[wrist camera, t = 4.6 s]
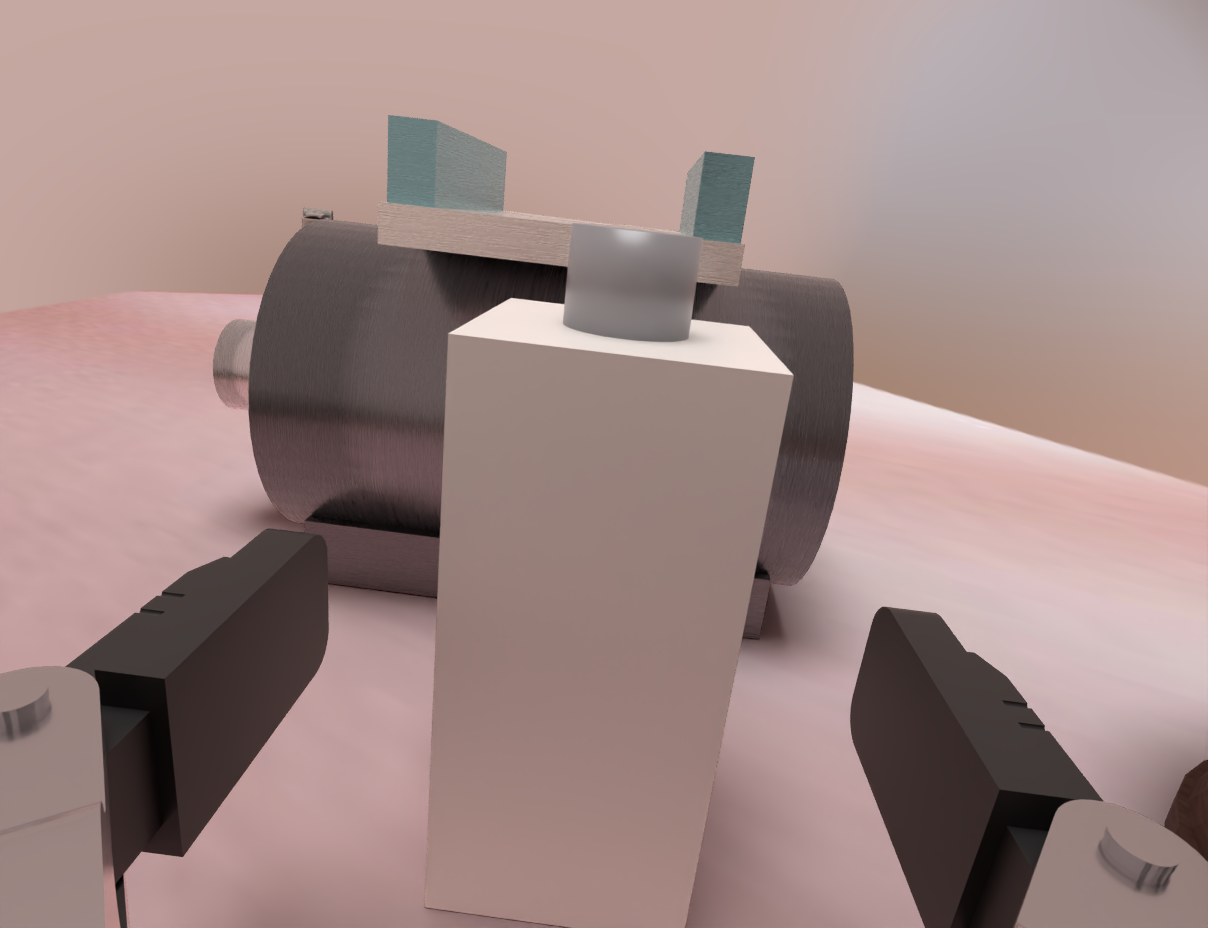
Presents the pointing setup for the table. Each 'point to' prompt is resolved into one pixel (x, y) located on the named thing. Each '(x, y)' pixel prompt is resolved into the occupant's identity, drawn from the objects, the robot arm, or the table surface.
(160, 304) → the table surface
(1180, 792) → the mottled black dome
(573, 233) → the carton
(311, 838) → the table surface
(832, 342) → the motor
